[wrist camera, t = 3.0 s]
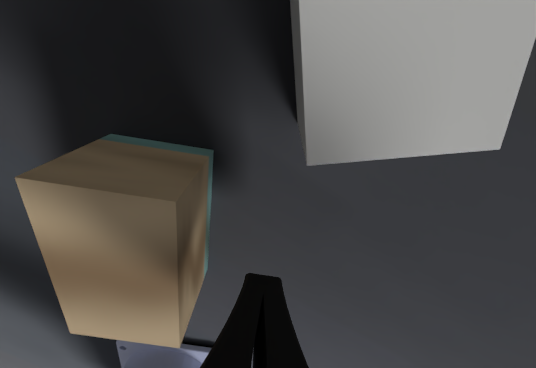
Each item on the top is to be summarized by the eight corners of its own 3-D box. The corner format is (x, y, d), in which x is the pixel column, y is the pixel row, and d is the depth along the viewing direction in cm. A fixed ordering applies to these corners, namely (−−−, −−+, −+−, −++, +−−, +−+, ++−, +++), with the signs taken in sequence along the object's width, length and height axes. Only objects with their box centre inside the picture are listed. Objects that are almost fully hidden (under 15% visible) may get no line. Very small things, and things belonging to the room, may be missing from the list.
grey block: (411, 111, 11) (499, 149, 7) (297, 123, 11) (306, 165, 7) (432, -34, 9) (588, -129, 4) (289, -12, 9) (295, -75, 5)
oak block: (208, 266, 16) (179, 348, 11) (129, 255, 16) (70, 333, 11) (214, 149, 12) (175, 202, 8) (112, 132, 12) (14, 177, 8)
